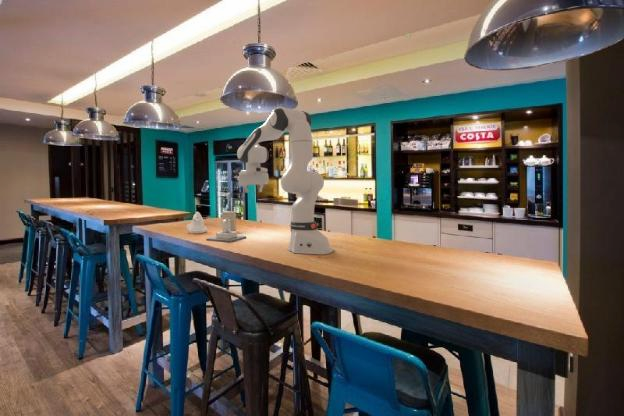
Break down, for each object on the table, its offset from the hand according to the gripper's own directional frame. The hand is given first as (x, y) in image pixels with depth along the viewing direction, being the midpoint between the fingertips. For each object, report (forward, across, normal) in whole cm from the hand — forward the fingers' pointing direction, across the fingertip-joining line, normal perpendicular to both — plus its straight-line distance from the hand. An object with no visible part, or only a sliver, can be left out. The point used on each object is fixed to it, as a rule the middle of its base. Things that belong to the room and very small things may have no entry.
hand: (253, 192), depth 217 cm
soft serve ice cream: (+25, -41, -5) cm, 48 cm away
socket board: (+27, -7, -18) cm, 33 cm away
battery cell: (+26, -7, -18) cm, 33 cm away
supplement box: (+25, -24, +6) cm, 35 cm away
